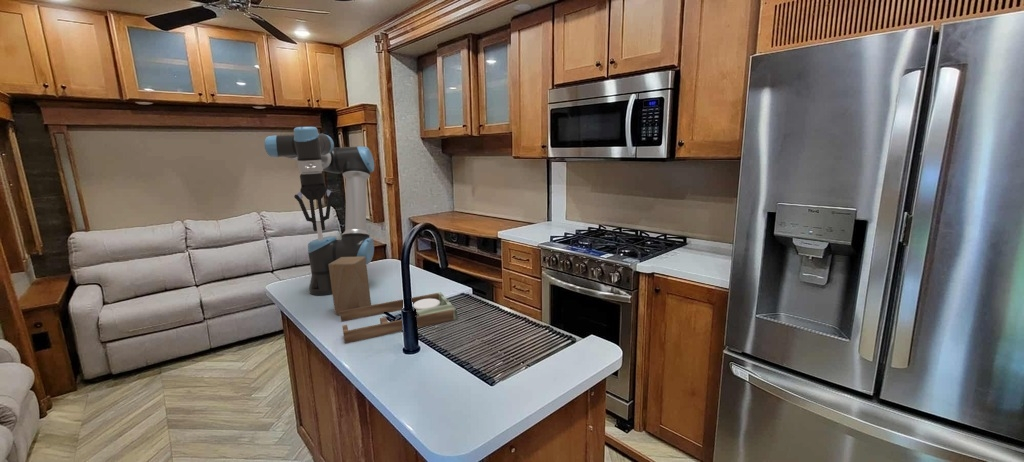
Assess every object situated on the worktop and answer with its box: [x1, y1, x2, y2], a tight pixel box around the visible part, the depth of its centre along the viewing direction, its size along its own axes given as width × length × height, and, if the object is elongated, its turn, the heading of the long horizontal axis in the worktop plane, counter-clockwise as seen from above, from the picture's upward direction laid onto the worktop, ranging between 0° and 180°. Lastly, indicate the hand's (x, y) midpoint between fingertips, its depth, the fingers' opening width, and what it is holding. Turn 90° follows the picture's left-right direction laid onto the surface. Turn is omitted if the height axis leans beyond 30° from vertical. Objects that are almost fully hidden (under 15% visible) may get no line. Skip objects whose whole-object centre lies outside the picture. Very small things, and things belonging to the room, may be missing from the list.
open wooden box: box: [339, 292, 458, 344], centre depth 151 cm, size 21×37×4 cm, turn 115°
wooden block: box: [329, 257, 372, 316], centre depth 161 cm, size 10×10×20 cm
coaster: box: [413, 299, 441, 311], centre depth 158 cm, size 10×10×4 cm
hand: (320, 239), depth 151 cm, fingers closed
